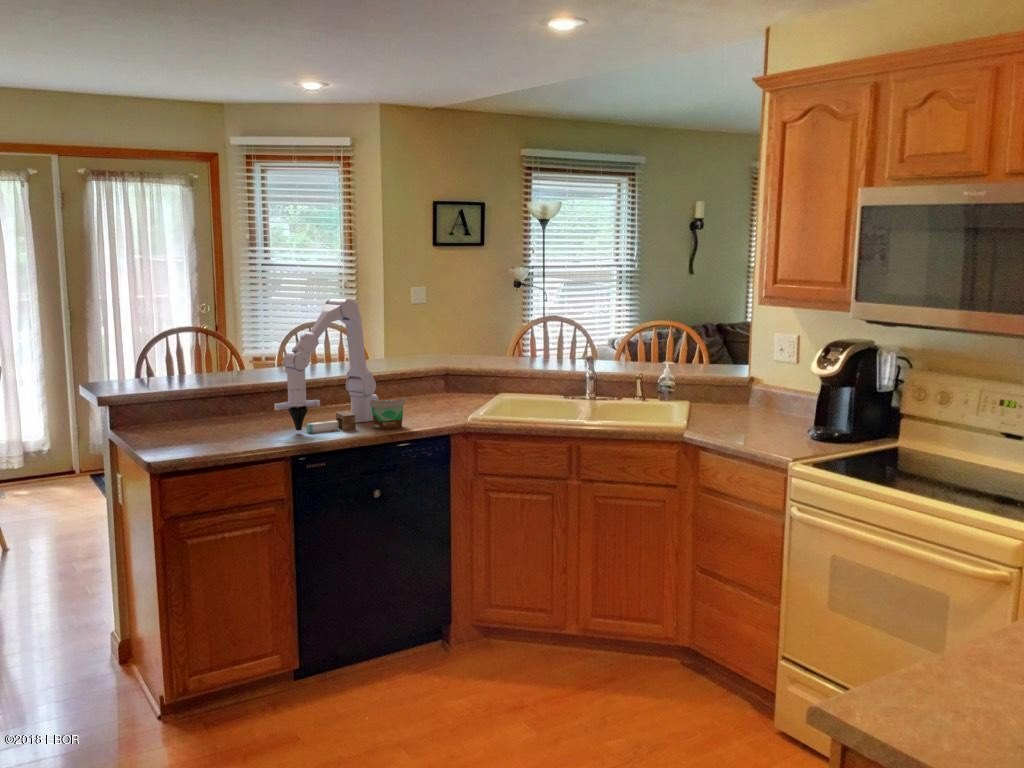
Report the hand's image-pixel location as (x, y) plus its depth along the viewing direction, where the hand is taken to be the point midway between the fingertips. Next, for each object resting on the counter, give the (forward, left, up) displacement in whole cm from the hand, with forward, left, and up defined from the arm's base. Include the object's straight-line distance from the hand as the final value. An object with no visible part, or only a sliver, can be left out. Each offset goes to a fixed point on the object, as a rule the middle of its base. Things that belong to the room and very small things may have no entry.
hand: (298, 429), depth 283 cm
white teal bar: (-8, 0, -1) cm, 8 cm away
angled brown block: (-16, 0, -1) cm, 16 cm away
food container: (-29, +9, -1) cm, 30 cm away
